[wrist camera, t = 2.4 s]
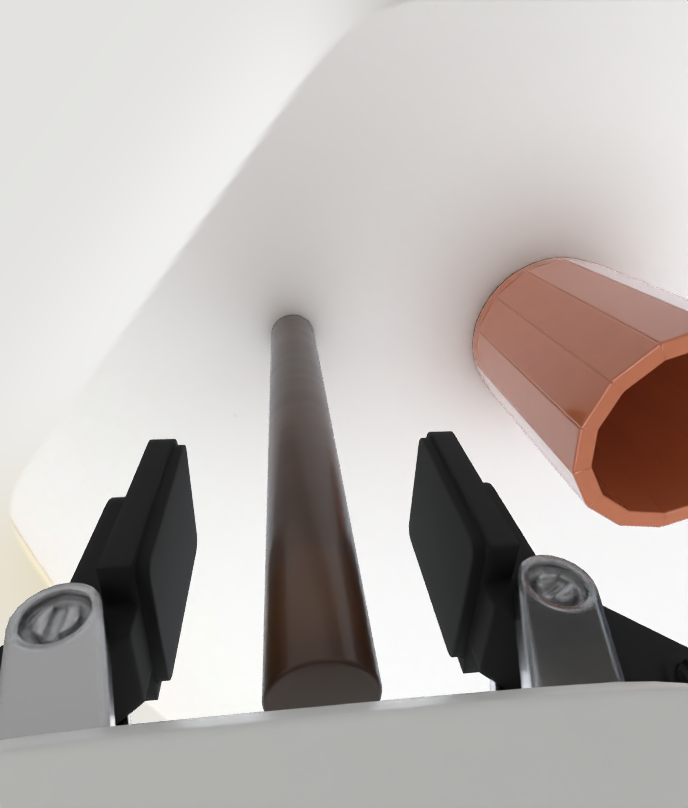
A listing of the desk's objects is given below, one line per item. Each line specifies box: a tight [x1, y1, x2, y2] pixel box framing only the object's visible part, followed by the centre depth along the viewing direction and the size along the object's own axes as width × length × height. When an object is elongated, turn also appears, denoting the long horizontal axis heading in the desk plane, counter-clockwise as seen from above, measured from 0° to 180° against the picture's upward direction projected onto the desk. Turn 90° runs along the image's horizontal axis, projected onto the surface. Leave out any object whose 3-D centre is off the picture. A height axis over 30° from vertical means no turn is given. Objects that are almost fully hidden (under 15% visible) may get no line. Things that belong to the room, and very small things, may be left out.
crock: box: [473, 257, 688, 527], centre depth 19 cm, size 7×7×9 cm
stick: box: [262, 315, 382, 711], centre depth 15 cm, size 2×2×16 cm
